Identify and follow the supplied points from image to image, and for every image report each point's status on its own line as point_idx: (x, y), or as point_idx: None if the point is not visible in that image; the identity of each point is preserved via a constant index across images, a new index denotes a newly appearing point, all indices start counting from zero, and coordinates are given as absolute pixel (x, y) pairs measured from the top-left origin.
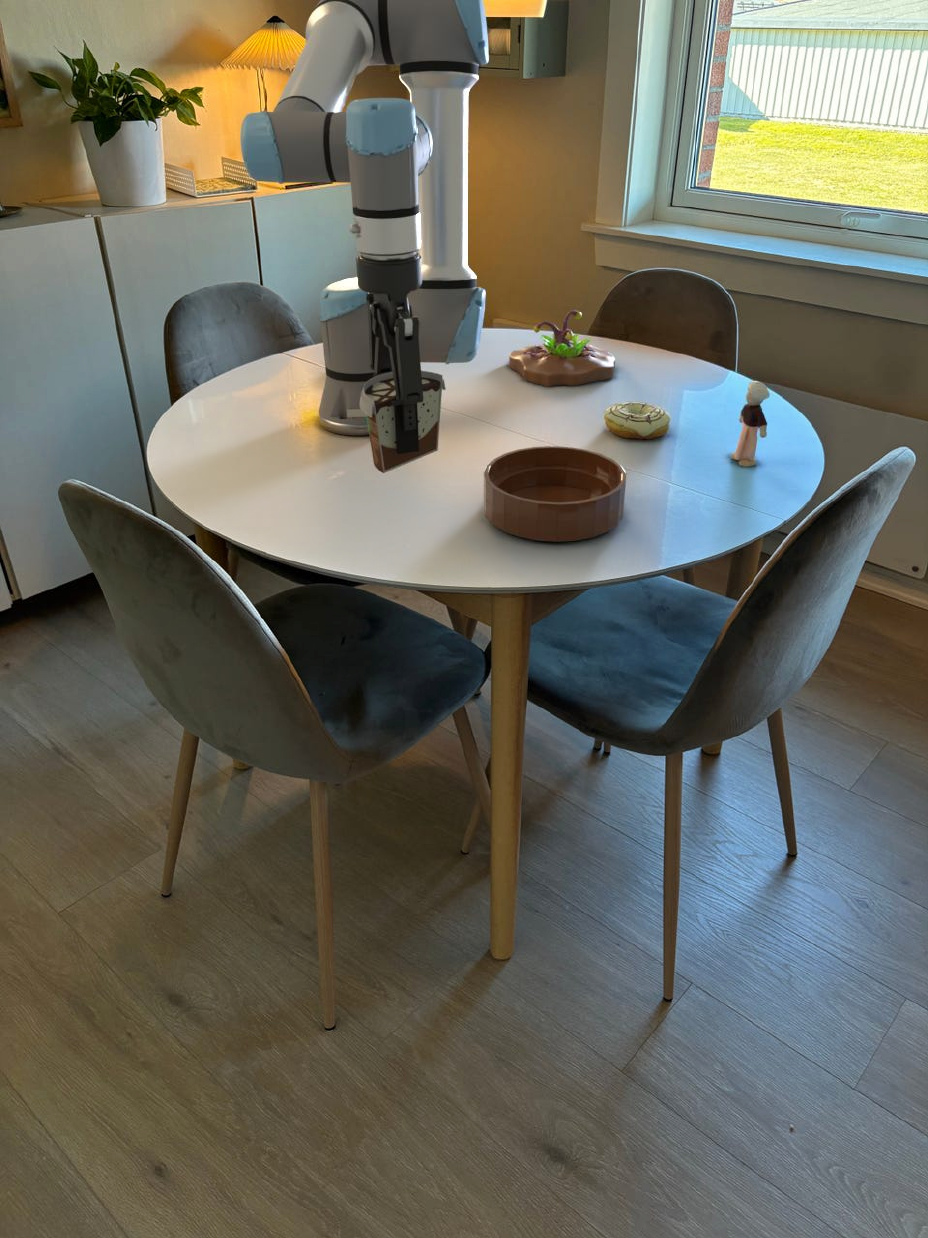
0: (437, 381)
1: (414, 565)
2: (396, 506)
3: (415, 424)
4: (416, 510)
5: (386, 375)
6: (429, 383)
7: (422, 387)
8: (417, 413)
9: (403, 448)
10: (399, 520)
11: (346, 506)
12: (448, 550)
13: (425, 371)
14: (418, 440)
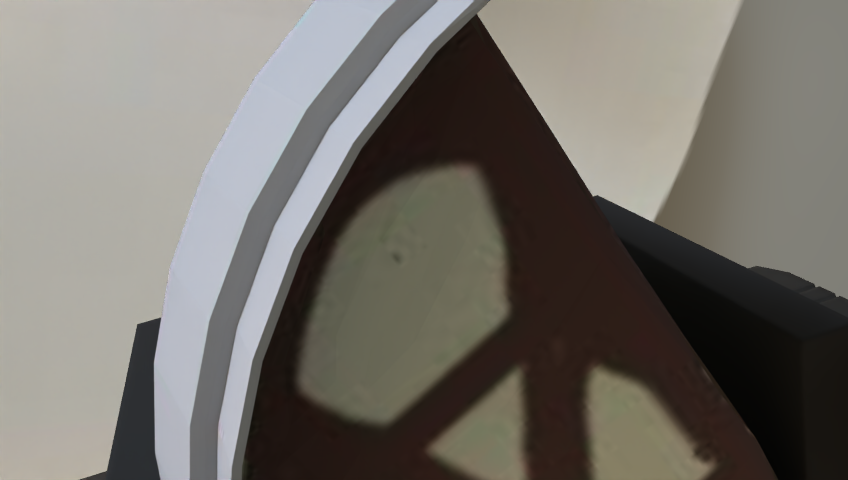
0: (464, 48)
1: (596, 156)
2: (92, 201)
3: (798, 279)
4: (143, 115)
5: None
6: (500, 171)
7: (624, 271)
8: (769, 279)
9: None
10: None
11: (77, 404)
12: (519, 21)
13: (300, 244)
14: (632, 215)
